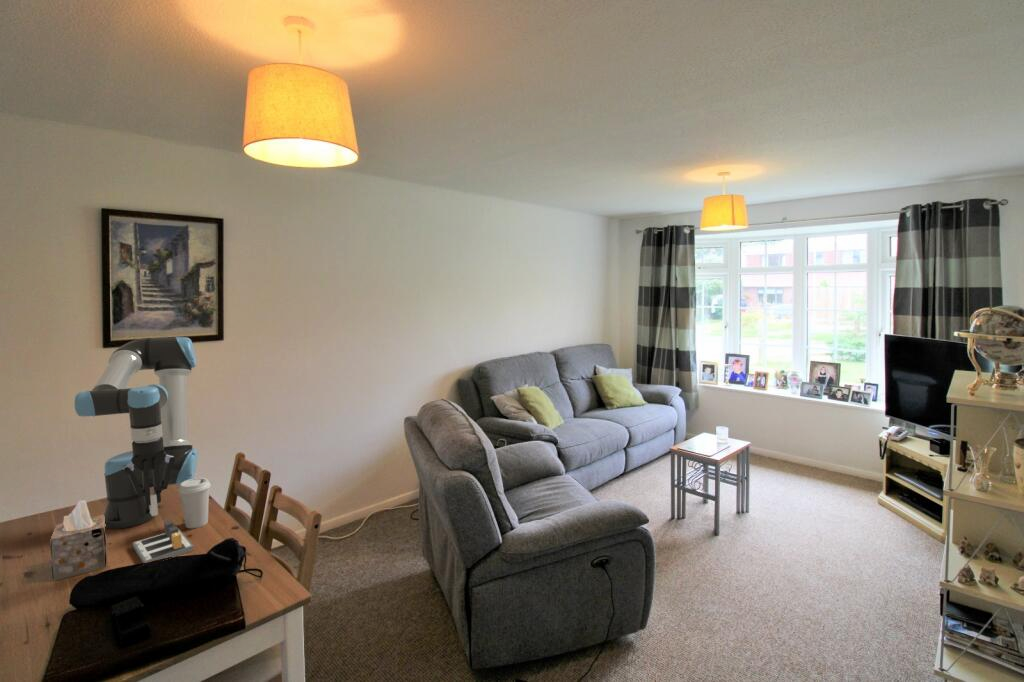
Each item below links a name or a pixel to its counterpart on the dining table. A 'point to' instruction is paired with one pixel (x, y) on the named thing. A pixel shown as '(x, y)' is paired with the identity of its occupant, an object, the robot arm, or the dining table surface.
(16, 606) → the dining table surface
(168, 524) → the panel
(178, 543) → the toggle
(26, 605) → the dining table surface
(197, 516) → the coffee cup
